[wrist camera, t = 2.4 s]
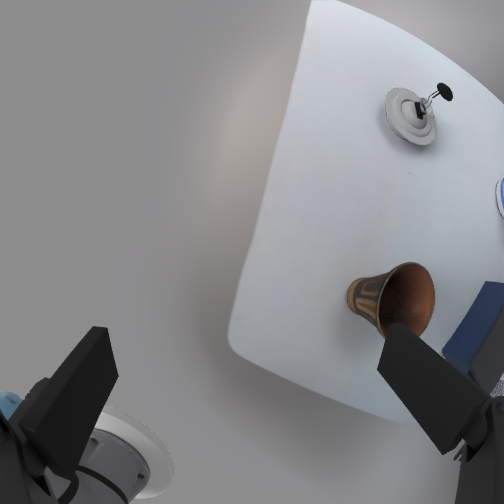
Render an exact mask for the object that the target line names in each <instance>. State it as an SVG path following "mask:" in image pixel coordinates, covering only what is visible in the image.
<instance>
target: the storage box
mask: <svg viewBox="0 0 504 504" xmlns="http://www.w3.org/2000/svg"><path fill="white" fill-rule="evenodd" d="M442 352H443V354H444V355H445V357H446V359H447V360H448V362H449V364H451V365H453V366H455V367H457V368H459V369H461V370H462V371H463V372H464V373H465V374H466V375H467V377H468V376H469V377H470V378H471V379H472V381H474V382H475V383H477V384H478V385H479V386H480V387H481V388H482V389H483V390H484V391H485V392H486V393H488V394H490V393H491V392H492V390H493V389H494V387H495V386H496V384H497V382H498V381H499V379H500V378H501V376H502V375H503V373H504V283H498V282H489V281H486V282H485V283H484V285H483V287H482V289H481V291H480V293H479V294H478V296H477V298H476V300H475V301H474V303H473V305H472V306H471V308H470V310H469V311H468V313H467V314H466V316H465V318H464V319H463V321H462V322H461V324H460V325H459V327H458V328H457V330H456V331H455V333H454V334H453V336H452V337H451V338H450V340H449V341H448V343H447V344H446V345H445V347H444V348H443V349H442Z"/></svg>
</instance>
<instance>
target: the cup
mask: <svg viewBox="0 0 504 504" xmlns="http://www.w3.org/2000/svg"><path fill="white" fill-rule="evenodd" d="M347 302H348V306H349V308H350V309H351V311H353V312H354V313H355V314H358V315H361V316H362V317H364V318H365V319H367V320H368V321H369V322H371V323H372V324H373V325H374V326H375V327H376V328H377V330H378V331H379V333H380V334H381V335H382V336H383V337H384V339H386V335H387V332H388V327H389V324H394V323H402V324H404V325H405V326H406V327H407V328H408V329H410V330H411V331H412V332H413V333H414V334H416V335H417V336H418V337H419V336H420V335H421V334H422V333H423V332H424V331H425V329H426V328H427V326H428V324H429V322H430V319H431V317H432V314H433V310H434V305H435V291H434V285H433V281H432V279H431V276H430V274H429V273H428V271H427V270H426V269H425V267H423V266H422V265H420V264H418V263H414V262H408V263H404V264H401V265H399V266H397V267H395V268H394V269H392V270H391V271H390V272H388V273H386V274H382V275H379V276H375V277H371V278H360V279H357V280H356V281H354V282H353V283H352V284H351V286H350V288H349V290H348V293H347Z"/></svg>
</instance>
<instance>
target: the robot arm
mask: <svg viewBox="0 0 504 504" xmlns="http://www.w3.org/2000/svg"><path fill="white" fill-rule="evenodd" d="M377 370H378V372H379V373H380V374H381V375H382V377H383V378H384V379H385V380H386V382H387V383H388V384H389V386H390V387H391V388H392V389H393V391H394V392H395V393H396V394H397V396H398V397H399V398H400V400H401V401H402V402H403V404H404V405H405V406H406V407H407V409H408V410H409V411H410V413H411V414H412V415H413V417H414V418H415V419H416V420H417V422H418V423H419V424H420V426H421V427H422V428H423V430H424V431H425V432H426V434H427V435H428V436H429V438H430V439H431V440H432V442H433V443H434V444H435V446H436V447H437V448H438V450H439V451H440V452H441V454H442V455H444V454H446V453H447V452H449V451H451V450H453V449H455V448H456V446H457V445H458V444H459V442H460V441H461V440H462V438H463V439H464V440H465V443H464V445H463V446H462V448H461V449H460V450H459V451H458V453H457V454H456V455H455V457H454V460H456V459H457V458H458V457H459V455H460V454H462V456H461V458H460V459H459V461H461V466H460V474H459V481H458V488H457V494H456V499H455V504H504V396H497V397H494V398H492V397H491V396H490V395H489V394H488V393H486V392H485V391H484V390H483V389H482V388H481V387H480V386H479V385H478V384H477V383H475V382H474V381H472V379H471V378H470V377H469V376H468V377H467V375H466V374H465V373H464V372H463V371H462V370H461V369H459V368H457V367H455V366H453V365H451V364H449V363H448V362H447V361H446V360H445V359H444V358H443V357H441V356H440V355H439V354H438V353H437V352H436V351H434V350H433V349H432V348H431V347H430V346H429V345H427V344H426V343H425V342H424V341H423V340H421V339H420V338H419V337H418V336H417V335H416V334H414V333H413V332H412V331H411V330H410V329H408V328H407V327H406V326H405V325H404V324H402V323H394V324H389V327H388V332H387V335H386V339H385V343H384V347H383V350H382V354H381V358H380V361H379V364H378V368H377ZM118 377H119V376H118V372H117V368H116V364H115V360H114V356H113V351H112V347H111V342H110V338H109V333H108V328H105V327H96V326H93V327H92V328H91V329H90V330H89V332H88V333H87V334H86V335H85V336H84V338H83V339H82V340H81V341H80V342H79V343H78V345H77V346H76V347H75V348H74V350H73V351H72V352H71V353H70V354H69V356H68V357H67V358H66V359H65V361H64V362H63V363H62V364H61V365H60V367H59V368H58V369H57V371H56V372H55V373H54V374H53V376H52V377H51V378H50V379H49V378H46V377H45V378H44V379H42V380H40V381H39V382H37V383H36V384H35V385H34V386H33V388H32V389H31V390H30V393H28V394H27V395H26V397H25V400H23V401H22V399H21V398H20V397H19V396H18V395H16V394H14V393H12V392H0V504H129V502H130V501H131V500H133V499H134V498H135V497H136V496H137V495H138V494H139V493H140V492H141V491H142V490H143V489H144V488H145V487H146V485H147V483H148V480H149V477H150V469H149V466H148V464H147V462H146V460H145V459H144V457H143V456H142V455H141V454H140V453H139V452H138V451H137V450H136V449H135V448H134V447H133V446H132V445H130V444H129V443H128V442H126V441H125V440H123V439H122V438H120V437H118V436H116V435H115V434H112V433H110V432H108V431H105V430H102V429H98V428H94V427H95V425H96V423H97V421H98V418H99V416H100V414H101V412H102V410H103V408H104V405H105V403H106V401H107V399H108V397H109V395H110V393H111V391H112V389H113V387H114V385H115V383H116V380H117V379H118Z"/></svg>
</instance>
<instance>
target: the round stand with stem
mask: <svg viewBox="0 0 504 504" xmlns="http://www.w3.org/2000/svg"><path fill="white" fill-rule="evenodd" d="M437 89H438V91H439V93H438V94H436V95H435V96H434V97H432V98H435V97H436V96H437V95H439V94H441V96H442V97H443V98H444V99H446V100H447V101H451V100H452V99H453V94H452V91H451V89H450V88H449V87H448V86H447V85H445V84H444V83H439V84H438V85H437ZM436 92H437V91H436ZM436 92H435V93H436ZM433 94H434V93H433ZM433 94H432V95H433ZM430 96H431V95H430ZM430 96H429V97H430ZM431 102H432V100H431ZM385 105H386V110H387V112H386V113H387V120H388V122H389V124H390V126H391V128H392V129H393V131H394V132H395V133H396V134H397V135H398V136H400V137H401V138H402V139H406V140H409V141H411V142H412V143H415V144H418V145H428V144H430V143H431V142H432V141H433V140H434V138H435V135H436V124H435V118H434V115H433V114H432V111H433V109H432V105H431V103H430V102H429V98H428V100H427V99H425V98H420V97H419V96H417V95H416V94H415V93H414V92H412V91H410V90H407V89H404V88H394V89H391V90H390V91H389V92H388V94H387V95H386V99H385Z"/></svg>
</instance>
